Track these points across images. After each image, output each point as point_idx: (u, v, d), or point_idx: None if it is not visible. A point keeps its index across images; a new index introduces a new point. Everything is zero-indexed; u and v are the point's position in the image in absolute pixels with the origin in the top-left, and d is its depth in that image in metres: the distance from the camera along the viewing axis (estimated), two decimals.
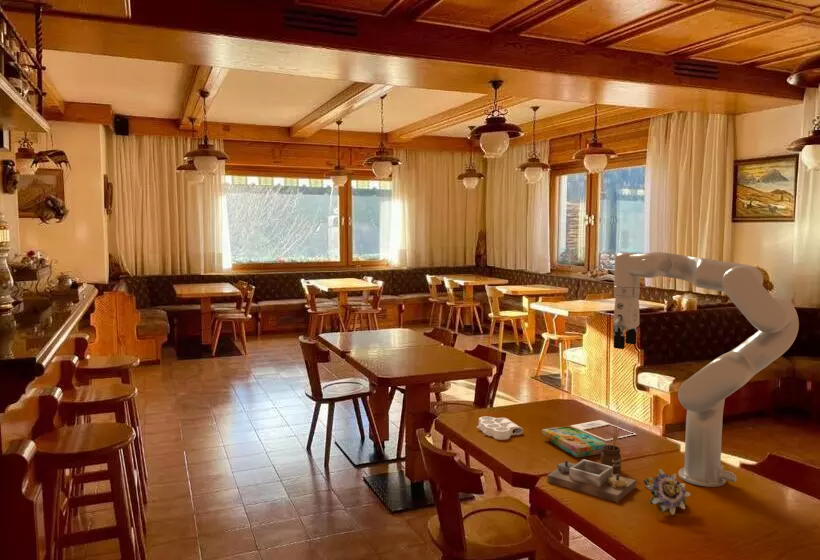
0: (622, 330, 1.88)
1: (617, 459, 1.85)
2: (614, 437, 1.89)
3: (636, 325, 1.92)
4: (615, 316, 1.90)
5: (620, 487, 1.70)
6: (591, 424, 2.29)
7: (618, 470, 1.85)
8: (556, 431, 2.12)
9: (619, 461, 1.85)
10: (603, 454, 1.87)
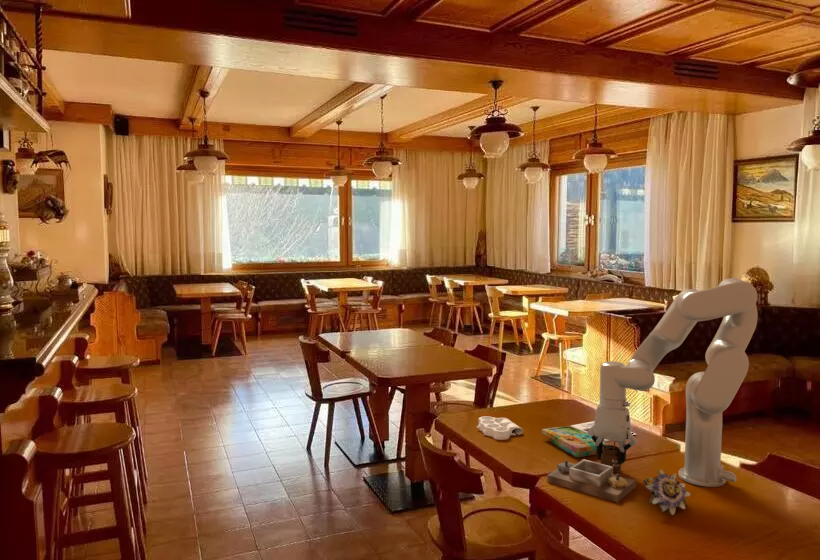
0: (626, 444, 1.85)
1: (617, 459, 1.85)
2: None
3: None
4: (626, 430, 1.82)
5: (620, 487, 1.70)
6: (591, 424, 2.29)
7: (618, 470, 1.85)
8: (556, 431, 2.12)
9: None
10: (603, 454, 1.87)
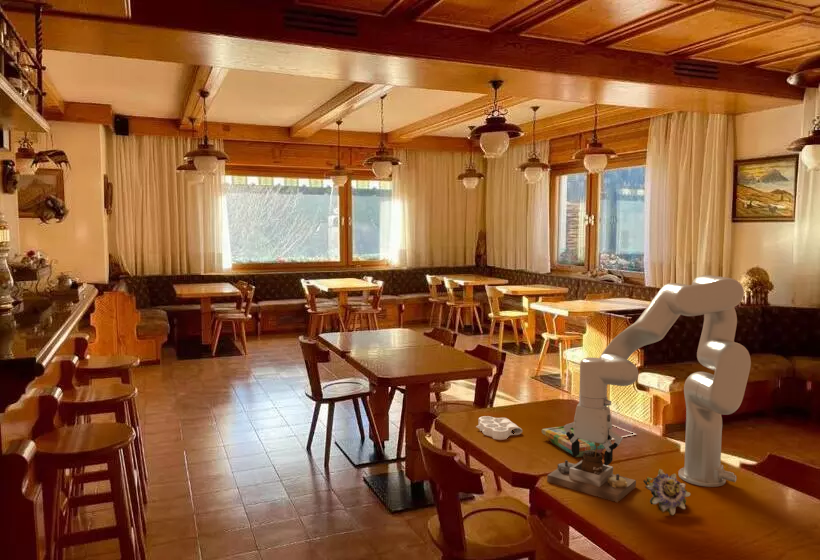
0: (611, 443, 1.73)
1: (598, 467, 1.74)
2: (596, 443, 1.78)
3: None
4: (606, 431, 1.71)
5: (620, 487, 1.70)
6: None
7: None
8: (556, 431, 2.12)
9: (601, 468, 1.74)
10: (584, 461, 1.76)
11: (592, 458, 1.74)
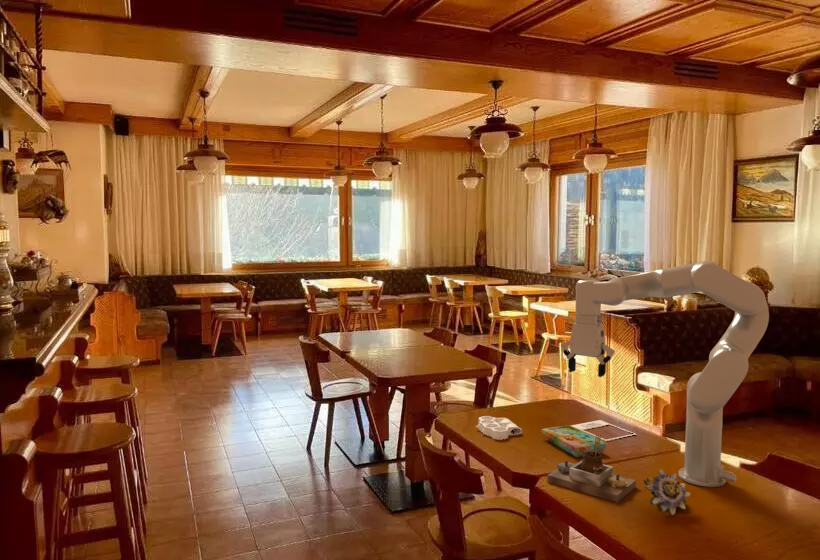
0: (604, 357, 1.89)
1: (598, 467, 1.74)
2: (596, 443, 1.78)
3: None
4: (600, 345, 1.87)
5: (620, 487, 1.70)
6: (591, 424, 2.29)
7: None
8: (556, 431, 2.13)
9: (601, 468, 1.74)
10: (584, 461, 1.76)
11: (592, 458, 1.74)
